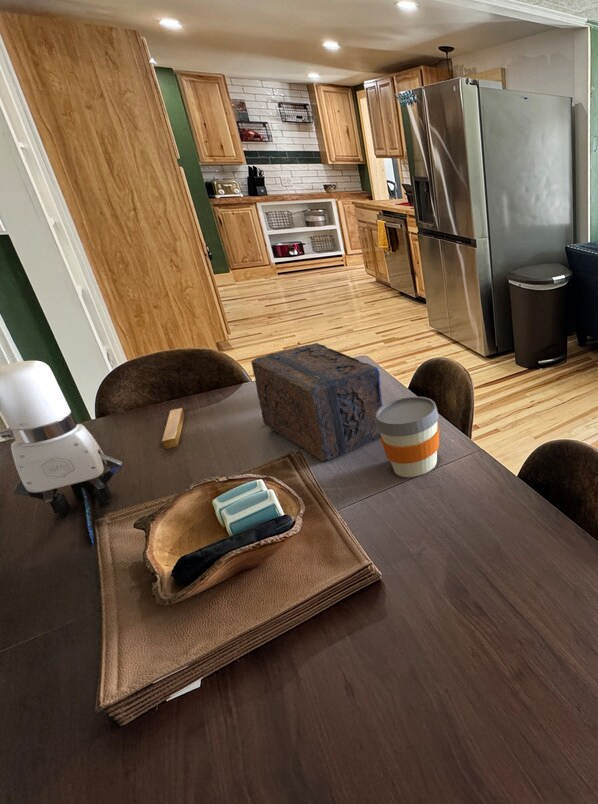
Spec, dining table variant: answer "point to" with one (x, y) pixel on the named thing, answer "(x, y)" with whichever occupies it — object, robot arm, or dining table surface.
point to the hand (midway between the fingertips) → (86, 507)
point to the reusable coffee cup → (409, 434)
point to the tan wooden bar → (173, 428)
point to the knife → (85, 500)
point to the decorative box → (319, 398)
